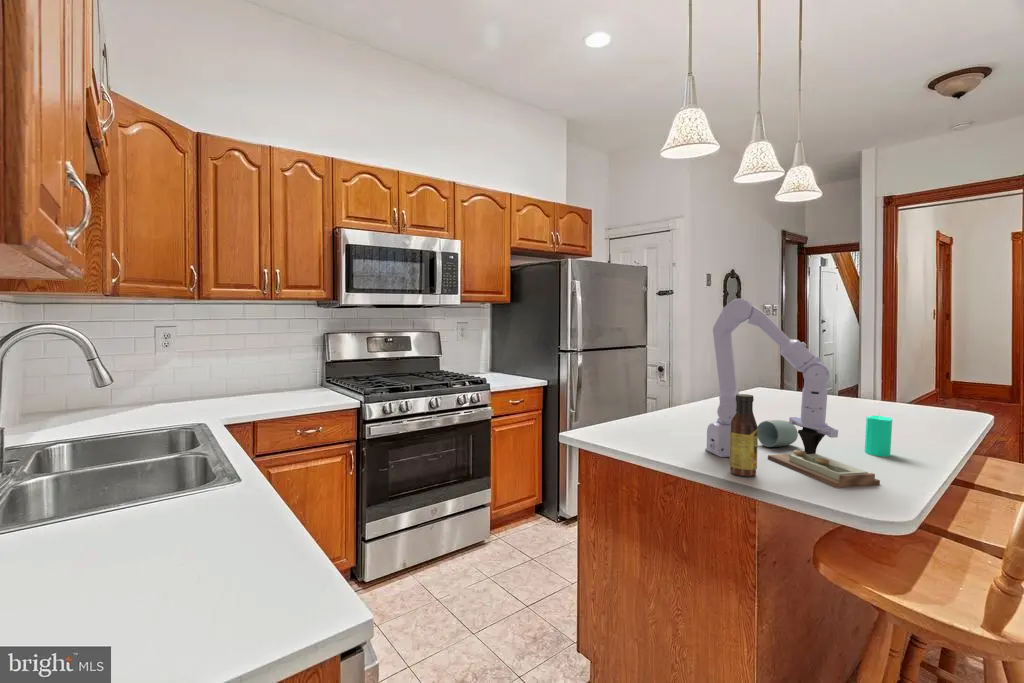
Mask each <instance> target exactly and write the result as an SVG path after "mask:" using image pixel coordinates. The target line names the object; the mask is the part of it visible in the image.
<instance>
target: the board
mask: <svg viewBox="0 0 1024 683" xmlns="http://www.w3.org/2000/svg"><path fill="white" fill-rule="evenodd" d="M789 455H797V456H799V457H802V458H803V455H806V452H805V450H800V449H795V450H793V453H784V454H780V453H779V454H768V455H767V459H768V460H770V461H772V462H775V463H777V464H779V465H781V464H782V466H783V467H786V468H789V469H791V470H794V471H796V472H798V473H801V474H802V475H805V476H808V477H809V478H811V479H812V478H813V479H815V480H817V481H819V482H821V483H824V484H826V485H829V486H831V487H833V488H836V489H837V488H839V489H840V488H851V487H852V488H853V487H863V486H877V485H880V484H881V480H880V479H877V478H876V474H875V473H873V472H868V473H865V474H850V475H840V477H839V481H838V480H836V479H833V478H831V477H828V476H826V475H823V474H821V473H819V472H816V471H814V470H811V469H809V468H806V467H804V466H801V465H799V464H796V463H794V462H791V461H789ZM816 462H817V463H819V464H820V465H823V466H825V467H826V464H829V460H827V459H822V458H818V459H816Z"/></svg>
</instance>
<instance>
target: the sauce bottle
mask: <svg viewBox="0 0 1024 683" xmlns="http://www.w3.org/2000/svg"><path fill="white" fill-rule="evenodd" d="M754 399H755V398H754V395H753V394H748V393H747V394H744V393H739V394H737V395H736V403H737V404H736V412H737V413H736V414H735V416H734V417H733V418H732V421H731V432H730V457H729V466H730V473H731V474H733V475H736V476H740V477H754V476H756V474H757V469H758V444H759V443H758V441H759V439H758V424H757V422H756V421H757V420H756V417H755V416H754V410H753V406H754V405H753V404H754V403H753V402H754Z"/></svg>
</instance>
